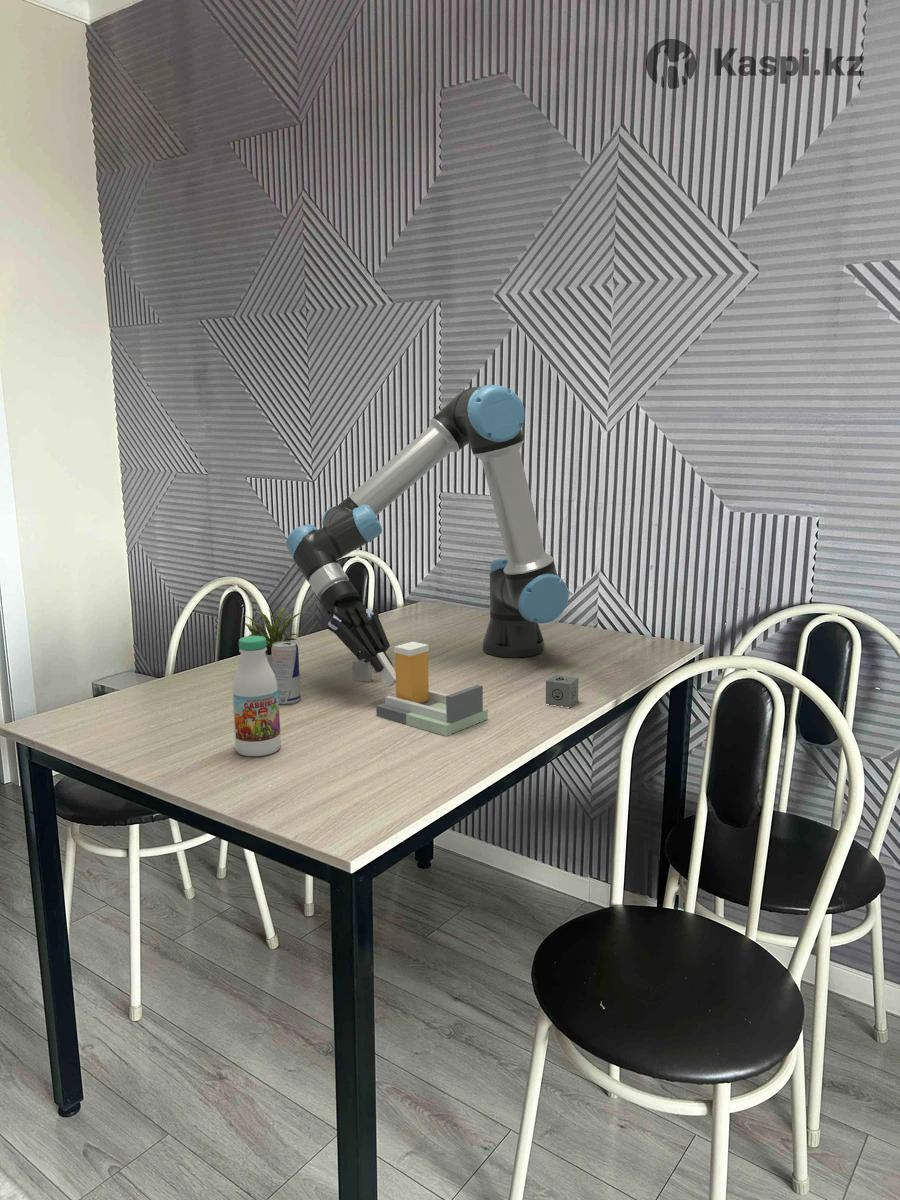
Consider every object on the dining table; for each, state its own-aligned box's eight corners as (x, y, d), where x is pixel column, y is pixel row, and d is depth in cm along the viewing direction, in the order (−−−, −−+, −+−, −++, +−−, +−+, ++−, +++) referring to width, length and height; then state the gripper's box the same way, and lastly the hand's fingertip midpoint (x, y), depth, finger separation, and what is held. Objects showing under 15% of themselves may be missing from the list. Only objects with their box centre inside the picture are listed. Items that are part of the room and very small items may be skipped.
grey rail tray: (376, 715, 172) (375, 680, 171) (418, 700, 181) (418, 667, 179) (446, 736, 160) (445, 699, 159) (487, 719, 169) (487, 684, 168)
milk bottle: (227, 749, 155) (220, 638, 151) (265, 738, 160) (259, 630, 156) (251, 761, 149) (244, 646, 145) (289, 749, 155) (284, 637, 151)
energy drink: (304, 697, 184) (302, 641, 181) (293, 705, 178) (290, 647, 176) (281, 695, 185) (278, 640, 183) (269, 703, 180) (266, 646, 178)
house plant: (304, 665, 208) (301, 597, 204) (317, 681, 195) (314, 608, 192) (242, 672, 203) (238, 602, 199) (252, 689, 190) (247, 614, 187)
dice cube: (554, 698, 182) (555, 674, 181) (578, 701, 180) (578, 677, 179) (545, 705, 178) (545, 681, 177) (569, 708, 175) (569, 684, 174)
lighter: (352, 679, 196) (351, 644, 194) (357, 677, 198) (356, 643, 196) (380, 683, 193) (379, 648, 191) (384, 681, 194) (383, 646, 193)
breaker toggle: (395, 702, 173) (394, 646, 171) (413, 696, 177) (412, 641, 174) (411, 706, 170) (410, 650, 168) (429, 700, 174) (428, 644, 172)
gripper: (349, 596, 191) (407, 685, 183) (302, 606, 181) (360, 700, 173) (366, 574, 186) (425, 665, 179) (318, 583, 176) (379, 679, 169)
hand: (393, 682), depth 176 cm, fingers closed
